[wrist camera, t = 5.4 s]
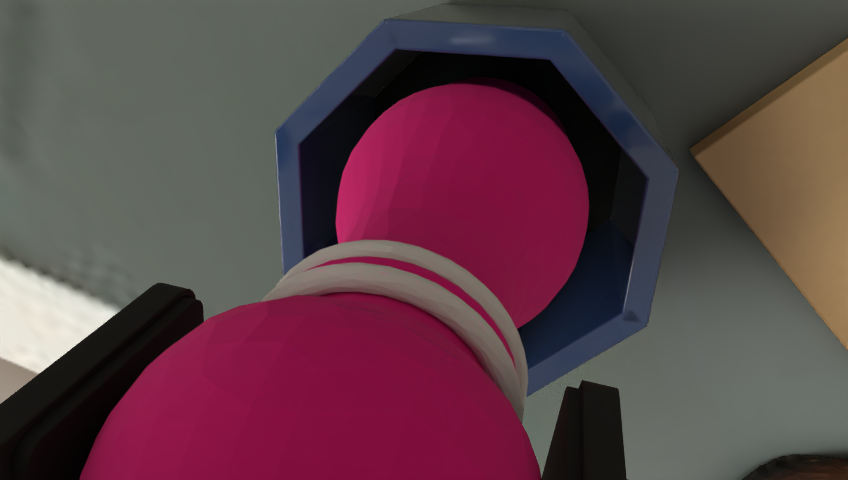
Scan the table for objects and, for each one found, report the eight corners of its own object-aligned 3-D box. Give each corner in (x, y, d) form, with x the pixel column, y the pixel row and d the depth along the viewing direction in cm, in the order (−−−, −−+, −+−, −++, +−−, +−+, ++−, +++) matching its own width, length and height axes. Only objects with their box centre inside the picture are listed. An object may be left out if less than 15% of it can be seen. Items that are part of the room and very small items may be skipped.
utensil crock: (511, -65, 23) (479, -79, 16) (703, 177, 25) (754, 263, 17) (304, 138, 28) (208, 198, 21) (478, 329, 29) (445, 445, 22)
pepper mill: (610, 79, 21) (790, 895, 3) (564, 275, 24) (509, 1256, 6) (393, 46, 22) (-478, 475, 4) (377, 237, 25) (-148, 966, 7)
